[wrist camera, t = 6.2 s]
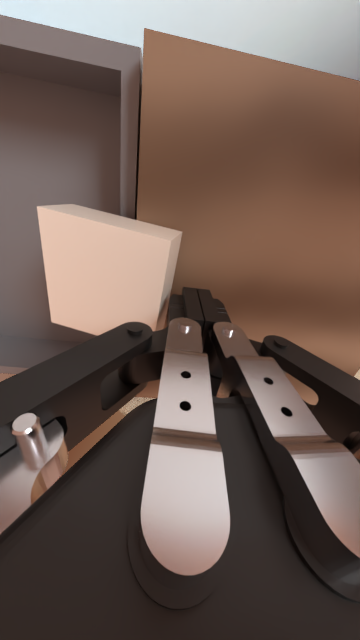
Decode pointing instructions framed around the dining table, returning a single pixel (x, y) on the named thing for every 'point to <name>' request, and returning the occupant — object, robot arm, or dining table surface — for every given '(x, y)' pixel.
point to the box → (58, 163)
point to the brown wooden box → (257, 191)
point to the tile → (106, 268)
